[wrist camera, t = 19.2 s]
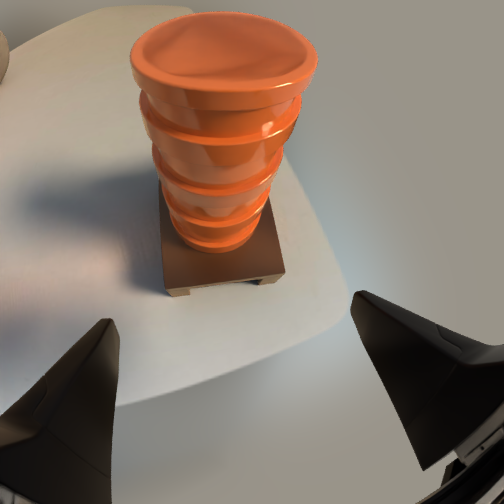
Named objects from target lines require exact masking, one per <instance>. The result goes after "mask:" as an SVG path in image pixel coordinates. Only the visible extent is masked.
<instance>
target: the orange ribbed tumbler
mask: <svg viewBox="0 0 504 504" xmlns="http://www.w3.org/2000/svg"><path fill="white" fill-rule="evenodd" d="M130 64H131V69H132V74H133V77H134V80H135V82H136V83H137V85H138V86H139V87H140V88H141V89H142V90H141V93H140V97H139V105H140V110H141V115H142V119H143V123H144V127H145V130H146V132H147V135H148V136H149V138H150V139H151V141H152V142H153V143H152V156H153V161H154V165H155V168H156V172H157V174H158V177H159V179H160V181H161V182H162V191H163V195H164V199H165V202H166V205H167V207H168V209H169V213H170V217H171V221H172V224H173V227H174V229H175V231H176V233H177V234H178V236H179V237H180V238H181V240H182V241H184V242H185V243H186V244H187V245H189V246H190V247H192V248H194V249H196V250H198V251H201V252H206V253H224V252H228V251H232V250H234V249H236V248H238V247H240V246H241V245H243V244H244V243H245V242H247V241H248V240H249V238H250V237H251V236H252V235H253V233H254V232H255V230H256V227H257V225H258V222H259V219H260V216H261V212H262V210H263V208H264V206H265V203H266V201H267V198H268V195H269V192H270V187H271V183H272V182H273V180H274V178H275V176H276V174H277V171H278V169H279V166H280V163H281V160H282V157H283V144H284V143H285V142H286V141H287V139H289V136H290V135H291V133H292V131H293V129H294V126H295V123H296V121H297V118H298V115H299V113H300V109H301V103H302V100H301V93H302V92H303V91H304V90H305V89H306V88H307V87H308V86H309V84H310V83H311V81H312V78H313V76H314V73H315V70H316V68H317V64H318V56H317V53H316V50H315V48H314V47H313V45H312V44H311V43H310V42H309V40H308V39H306V38H305V37H304V36H303V35H302V34H300V33H299V32H297V31H296V30H294V29H292V28H291V27H289V26H287V25H285V24H282V23H280V22H277V21H275V20H272V19H269V18H265V17H262V16H257V15H253V14H247V13H240V12H224V11H222V12H220V11H217V12H203V13H195V14H189V15H185V16H181V17H177V18H174V19H171V20H168V21H166V22H163V23H161V24H159V25H157V26H155V27H153V28H151V29H150V30H148V31H147V32H145V33H144V34H143V35H142V36H141V37H140V38H138V40H137V41H136V42H135V43H134V45H133V47H132V49H131V52H130Z"/></svg>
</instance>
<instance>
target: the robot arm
mask: <svg viewBox="0 0 504 504" xmlns="http://www.w3.org/2000/svg"><path fill="white" fill-rule="evenodd" d="M350 312H351V316H352V318H353V321H354V323H355V325H356V328H357V330H358V333H359V335H360V338H361V340H362V343H363V345H364V347H365V349H366V351H367V353H368V355H369V357H370V359H371V361H372V362H373V365H374V367H375V369H376V371H377V372H378V374H379V377H380V378H381V381H382V382H383V385H384V386H385V389H386V391H387V393H388V395H389V397H390V399H391V401H392V403H393V405H394V407H395V409H396V412H397V414H398V416H399V418H400V420H401V422H402V424H403V427H404V429H405V431H406V434H407V436H408V438H409V440H410V443H411V445H412V447H413V450H414V452H415V454H416V457H417V459H418V461H419V464H420V466H421V468H422V470H423V471H425V470H426V469H428V468H430V467H431V466H433V465H434V464H436V463H437V462H438V461H440V460H442V459H443V458H444V457H446V456H447V455H449V454H450V453H451V452H452V451H455V453H456V454H457V456H458V458H457V459H455V460H454V461H453V462H451V463H450V464H449V465H447V466H446V469H445V473H444V476H443V480H442V483H441V487H440V488H439V489H437V490H436V491H434V492H433V493H431V494H430V495H428V496H427V497H425V498H424V499H422V500H421V501H419V502H417V503H416V504H504V344H503V345H497V346H491V345H486V344H484V343H481V342H479V341H476V340H473V339H471V338H468V337H466V336H463V335H461V334H458V333H456V332H453V331H451V330H449V329H447V328H445V327H442V326H440V325H438V324H435V323H434V322H432V321H430V320H428V319H425V318H423V317H421V316H419V315H417V314H415V313H412V312H411V311H408V310H406V309H404V308H402V307H400V306H398V305H396V304H393V303H391V302H389V301H387V300H385V299H383V298H381V297H378V296H376V295H374V294H372V293H370V292H367V291H365V290H362V291H357V292H355V293H354V296H353V300H352V304H351V308H350ZM119 349H120V337H119V334H118V331H117V329H116V326H115V324H114V321H113V320H112V319H111V318H104V319H101V320H100V321H98V322H97V323H96V324H95V325H94V326H93V327H92V328H91V329H90V330H89V331H88V332H87V333H86V334H85V335H84V336H83V337H82V338H81V339H79V340H78V341H77V342H76V343H75V344H74V345H73V346H72V347H71V348H70V349H69V350H68V351H67V352H66V353H65V354H64V355H63V356H62V357H61V358H60V359H59V360H58V361H57V362H56V363H55V364H54V365H53V366H52V367H51V368H50V369H49V370H48V371H47V372H46V373H45V376H42V377H41V378H40V379H39V380H38V382H37V383H36V384H35V385H34V386H33V387H32V388H31V389H30V390H28V391H27V392H26V393H25V394H24V395H23V396H22V397H21V398H20V399H19V400H18V401H16V402H15V403H14V404H13V405H12V406H11V407H10V408H9V409H8V410H6V411H5V412H4V413H3V414H2V415H1V416H0V504H112V498H111V480H110V479H111V454H112V453H111V452H112V435H113V421H114V411H115V401H116V392H117V384H118V374H119Z"/></svg>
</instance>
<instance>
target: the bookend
mask: <svg viewBox="0 0 504 504" xmlns="http://www.w3.org/2000/svg"><path fill="white" fill-rule="evenodd" d="M152 143H153V142H152ZM159 212H160V233H161V248H162V262H163V273H164V283H165V290H166V291H167V292H168V293H169V294H170V295H171V296H172V297H177V296H185V295H190V289H191V288H199V287H206V286H214V285H221V284H228V283H236V282H243V281H250V280H256V279H257V281H258V285H263V284H270V283H275V282H276V281H277V280H278V279H280V278H281V277H282V276H283V275H284V274H285V268H284V263H283V258H282V253H281V249H280V244H279V239H278V235H277V230H276V226H275V221H274V217H273V213H272V208H271V204H270V199H269V195H268V198H267V201H266V203H265V206H264V208H263V210H262V212H261V216H260V219H259V222H258V225H257V227H256V230H255V232H254V233H253V235H252V236H251V237H250V238H249V240H248V241H247V242H245V243H244V244H243V245H241V246H240V247H238V248H236V249H234V250H232V251H228V252H224V253H206V252H201V251H198V250H196V249H194V248H192V247H190V246H189V245H187V244H186V243H185V242H184V241H182V240H181V238H180V237H179V236H178V234H177V233H176V231H175V229H174V227H173V224H172V221H171V217H170V213H169V209H168V207H167V205H166V202H165V199H164V195H163V191H162V182H161V181H160V179H159Z"/></svg>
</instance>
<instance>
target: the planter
mask: <svg viewBox="0 0 504 504" xmlns="http://www.w3.org/2000/svg"><path fill="white" fill-rule="evenodd" d="M8 64H9V46H8V42H7V40H6V37H5V35H4V34H3V33H2V31H1V30H0V83H1V81H2V79H3V78H4V76H5V73H6V71H7V68H8Z"/></svg>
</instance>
